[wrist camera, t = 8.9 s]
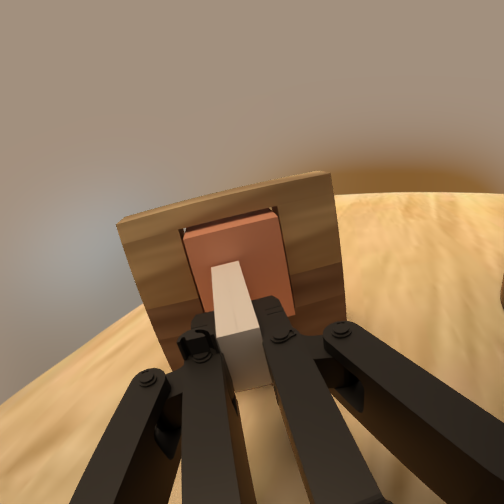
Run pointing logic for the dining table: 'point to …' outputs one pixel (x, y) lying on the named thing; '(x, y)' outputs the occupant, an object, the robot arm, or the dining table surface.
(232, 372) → the robot arm
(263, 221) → the peg
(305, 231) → the guide block
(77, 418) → the dining table surface
